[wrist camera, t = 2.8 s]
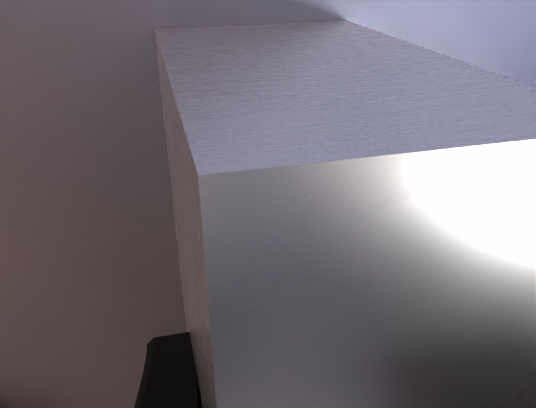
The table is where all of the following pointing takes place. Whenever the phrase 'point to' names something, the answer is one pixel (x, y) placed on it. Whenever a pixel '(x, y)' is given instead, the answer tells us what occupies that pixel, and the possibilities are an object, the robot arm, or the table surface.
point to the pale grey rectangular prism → (350, 219)
